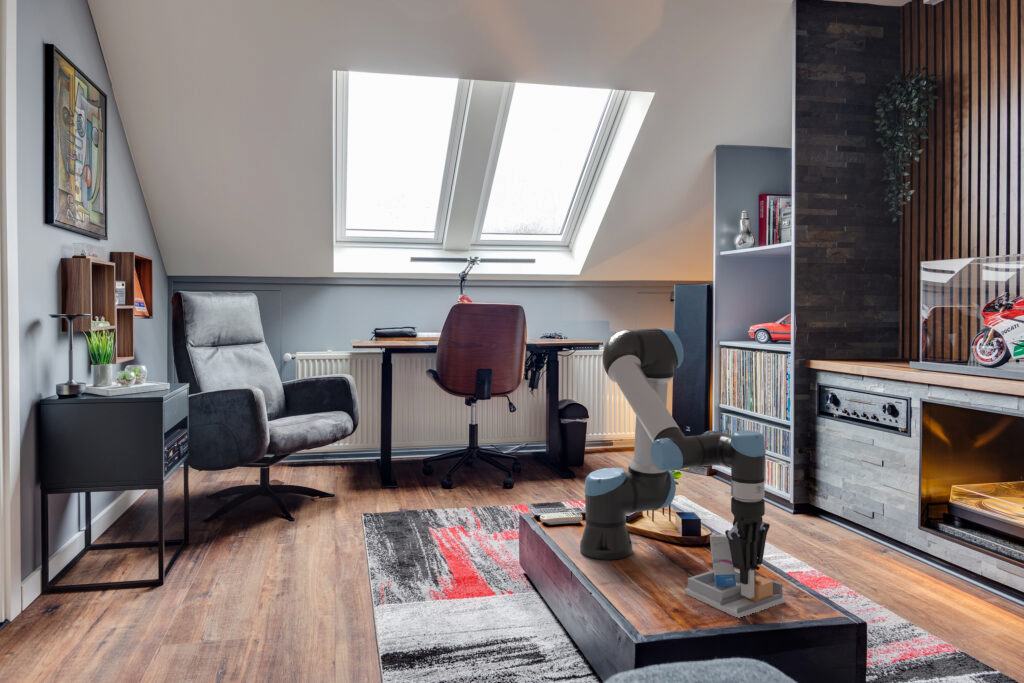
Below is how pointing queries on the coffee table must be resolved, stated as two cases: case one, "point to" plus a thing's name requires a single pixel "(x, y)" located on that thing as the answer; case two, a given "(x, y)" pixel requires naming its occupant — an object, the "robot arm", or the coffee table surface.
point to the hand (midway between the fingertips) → (747, 595)
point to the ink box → (722, 561)
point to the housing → (730, 595)
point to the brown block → (762, 589)
